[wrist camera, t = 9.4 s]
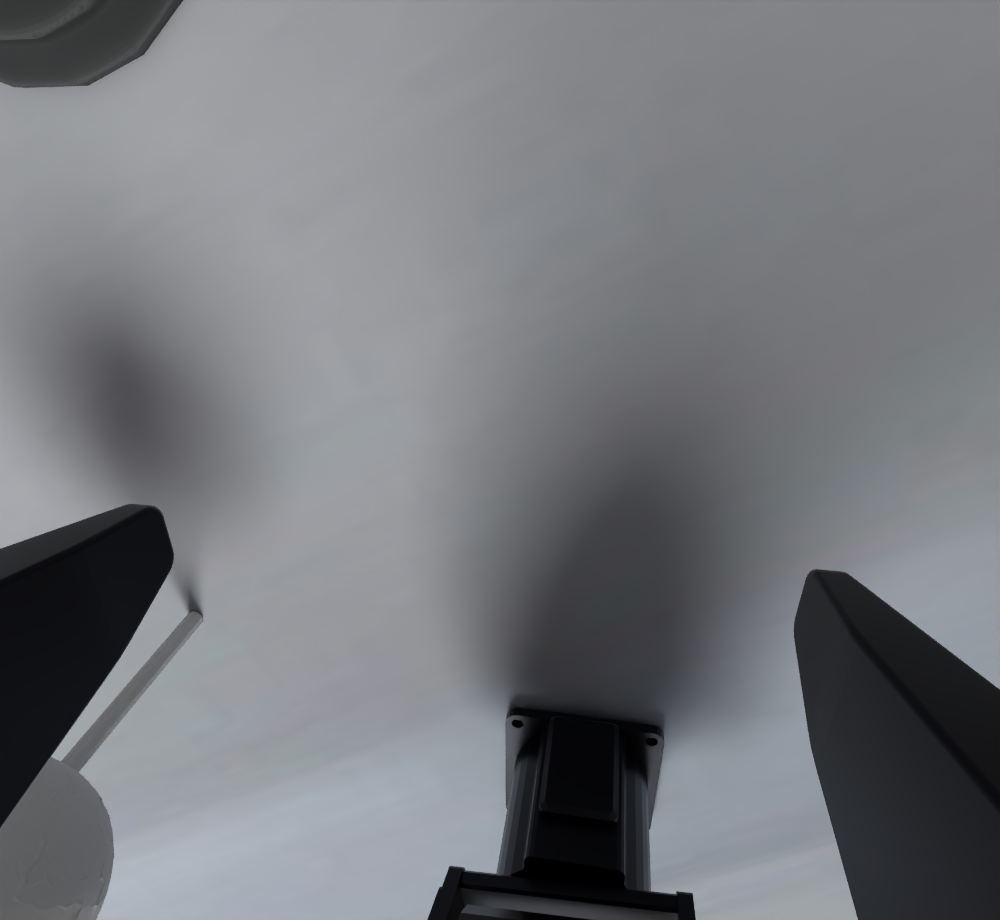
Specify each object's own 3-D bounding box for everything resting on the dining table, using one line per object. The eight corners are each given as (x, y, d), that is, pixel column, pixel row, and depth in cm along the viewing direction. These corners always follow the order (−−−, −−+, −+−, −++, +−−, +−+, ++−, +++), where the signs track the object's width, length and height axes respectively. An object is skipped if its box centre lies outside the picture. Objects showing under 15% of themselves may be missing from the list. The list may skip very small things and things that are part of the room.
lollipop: (108, 533, 27) (-363, 923, 14) (271, 571, 27) (-64, 1012, 14) (130, 656, 31) (-233, 1060, 18) (275, 692, 30) (10, 1135, 17)
